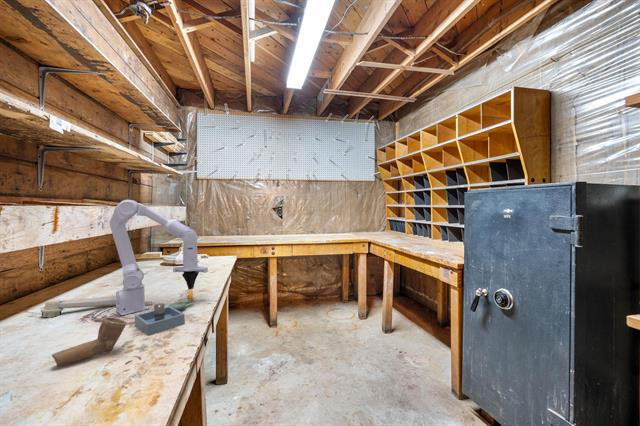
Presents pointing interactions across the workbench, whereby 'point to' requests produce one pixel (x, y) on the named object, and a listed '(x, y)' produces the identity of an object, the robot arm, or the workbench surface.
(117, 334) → the pipe
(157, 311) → the pin
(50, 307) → the grey long piece
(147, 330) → the tray
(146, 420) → the workbench surface
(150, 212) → the robot arm
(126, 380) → the workbench surface
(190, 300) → the crank
